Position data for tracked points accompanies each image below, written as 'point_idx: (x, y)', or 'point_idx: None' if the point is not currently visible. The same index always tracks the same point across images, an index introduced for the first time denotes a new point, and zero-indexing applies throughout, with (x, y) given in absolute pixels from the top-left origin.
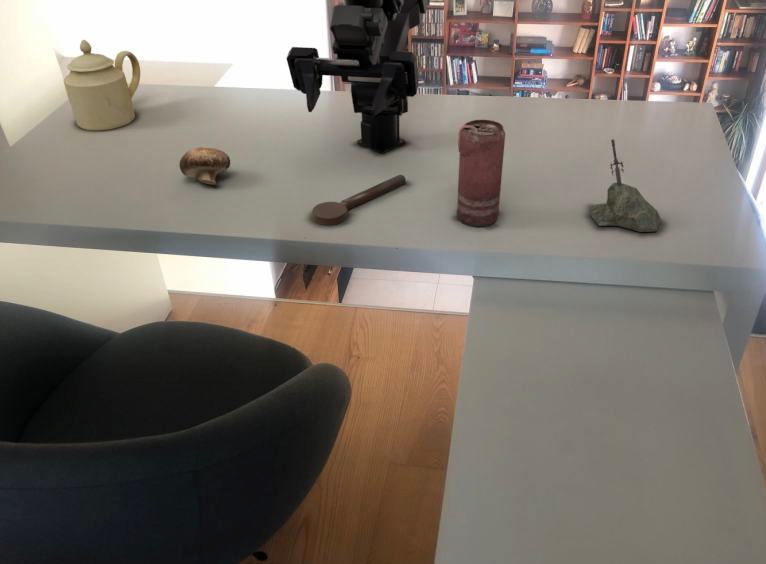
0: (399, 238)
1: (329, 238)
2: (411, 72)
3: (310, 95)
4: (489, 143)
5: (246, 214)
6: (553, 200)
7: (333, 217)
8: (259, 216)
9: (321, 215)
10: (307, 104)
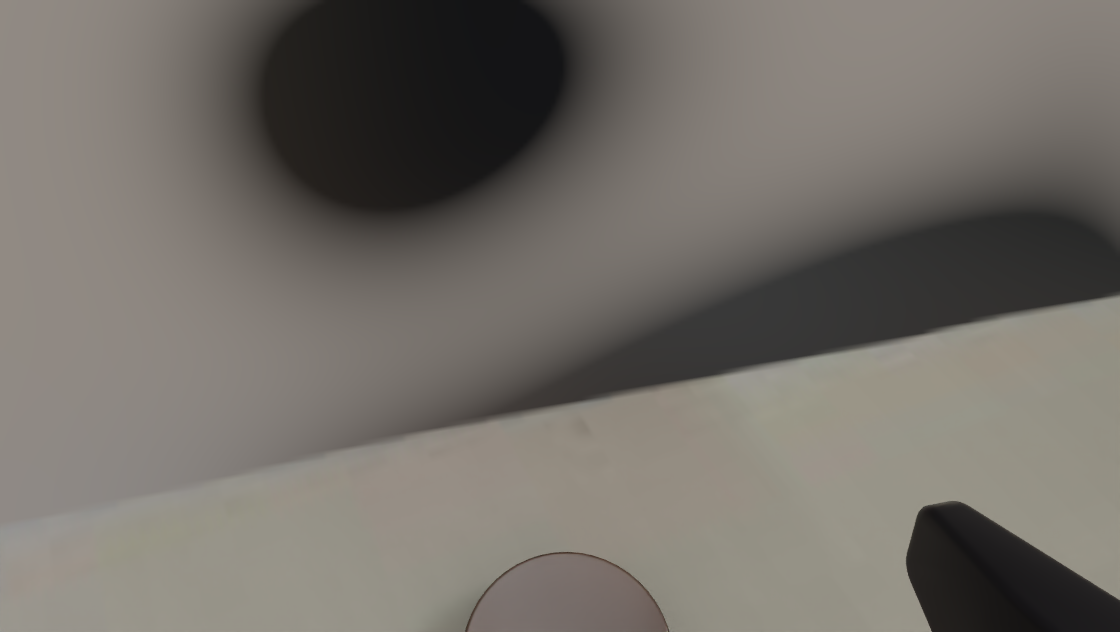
0: (104, 584)
1: (468, 462)
2: None
3: (1065, 619)
4: None
5: None
6: None
7: (503, 575)
8: None
9: (578, 571)
10: (971, 509)
